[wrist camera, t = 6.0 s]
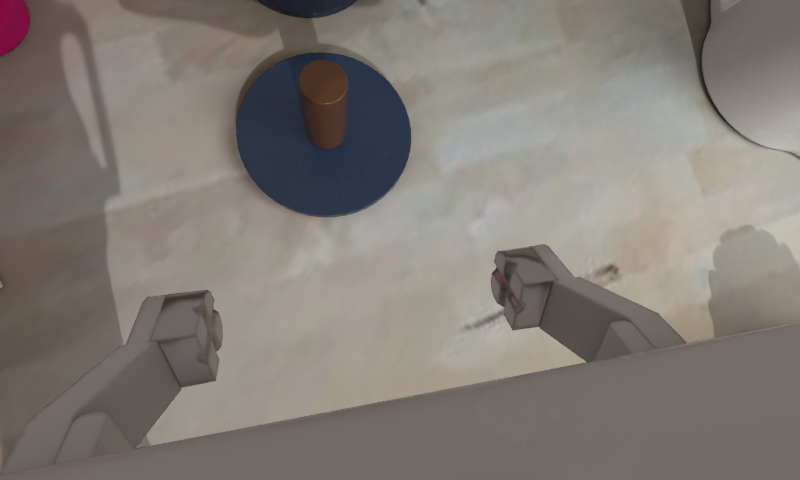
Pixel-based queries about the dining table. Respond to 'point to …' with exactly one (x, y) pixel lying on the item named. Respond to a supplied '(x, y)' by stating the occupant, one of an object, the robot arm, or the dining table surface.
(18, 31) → the pepper mill
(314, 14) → the pot
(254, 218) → the dining table surface
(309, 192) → the lid
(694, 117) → the dining table surface
